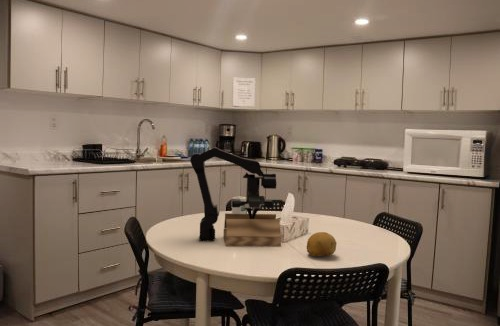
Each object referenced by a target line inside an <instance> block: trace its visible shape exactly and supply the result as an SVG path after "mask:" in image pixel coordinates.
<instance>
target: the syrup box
mask: <svg viewBox="0 0 500 326" xmlns="http://www.w3.org/2000/svg"><path fill="white" fill-rule="evenodd" d="M232 199H240V200H241V201H246V196H240V195H239V196H234V197H232ZM232 199H231V200H232ZM231 213H236V214H248V212H247V209H244V205H241V206H240V207H232V206H231Z"/></svg>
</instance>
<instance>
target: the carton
mask: <svg viewBox="0 0 500 326" xmlns="http://www.w3.org/2000/svg"><path fill="white" fill-rule="evenodd" d="M223 240H224V243H225V247H281V246H282V245H281V244H282V236H281V237H227V228H223Z"/></svg>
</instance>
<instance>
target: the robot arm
mask: <svg viewBox="0 0 500 326" xmlns="http://www.w3.org/2000/svg"><path fill="white" fill-rule="evenodd" d="M213 158H218V159H220V160H223V161H226V162H229V163H231V164H234V165H236V166H239V167H240V168H242V169H244V170H245V171H246V172H245V174H244V175H242V178H243V179H246V196H245V197H246V201H241V200H240V199H231V201H230V205H231V208H232V207H240V206H241V205H244V209H247V214H249V218H250V219H254V218H255V215H256V214H258V212H259V210H261V209H262V208H261V207H262V206H263V207H265V208H266V209H274V208H275V203H274V201H273V200H272V199H265V196H264V195H260V186H261V187H262V189H264V190H265V189H267V190H268V189H271V190H277V174H276V173H264V171H262V168H261V164H260V162H259V161H258V160H256V159H253V158H246V157H241V156H238V155H236V154H234V153H230V152H228V151H225V150H223V149H220V148H218V147H216V146H215V147H212V148H210V149H208V150H206V151H204V152H201V153H200V152H195V153H194V154H192V155H191V157H190V165H191V166H192V169H193V170H194V173H195V174H196V177H197V181H198V185H199V190H200V193H201V198H202V202H203V206H204V207H203V208H204V211H203V213H204V216H203V217H202V218H201V220H200V223H199V236H198V239H199V242H214V241H215V240H216V228H215V226H214V225H215V224H216V223H217V221H218V219H219V216H220V212H219V211H220V210H219V207H218V204H214V202H213V199H212V195H211V191H210V186H209V183H208V178H207V175H206V164H205V163H206V161H209V160H211V159H213ZM256 175H257V176H256Z"/></svg>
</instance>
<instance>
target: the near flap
mask: <svg viewBox="0 0 500 326" xmlns="http://www.w3.org/2000/svg"><path fill="white" fill-rule="evenodd" d="M226 225H227V228H226V229H227V237H281V238H282V236H281V235H282V234H281V221H280V219H277V218H276V219H226Z"/></svg>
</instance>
